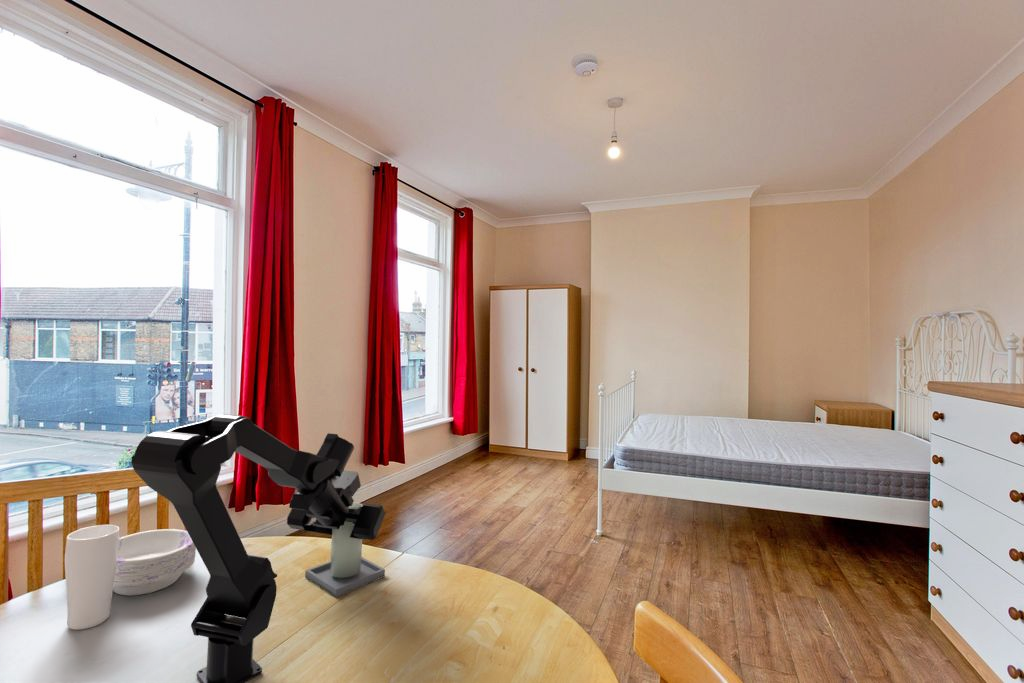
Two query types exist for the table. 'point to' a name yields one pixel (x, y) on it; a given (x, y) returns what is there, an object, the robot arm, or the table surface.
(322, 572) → the tray
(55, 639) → the table surface
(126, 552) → the paper bowls
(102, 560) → the white vase
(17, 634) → the table surface
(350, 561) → the domed cap cylinder
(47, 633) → the table surface
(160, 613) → the table surface
